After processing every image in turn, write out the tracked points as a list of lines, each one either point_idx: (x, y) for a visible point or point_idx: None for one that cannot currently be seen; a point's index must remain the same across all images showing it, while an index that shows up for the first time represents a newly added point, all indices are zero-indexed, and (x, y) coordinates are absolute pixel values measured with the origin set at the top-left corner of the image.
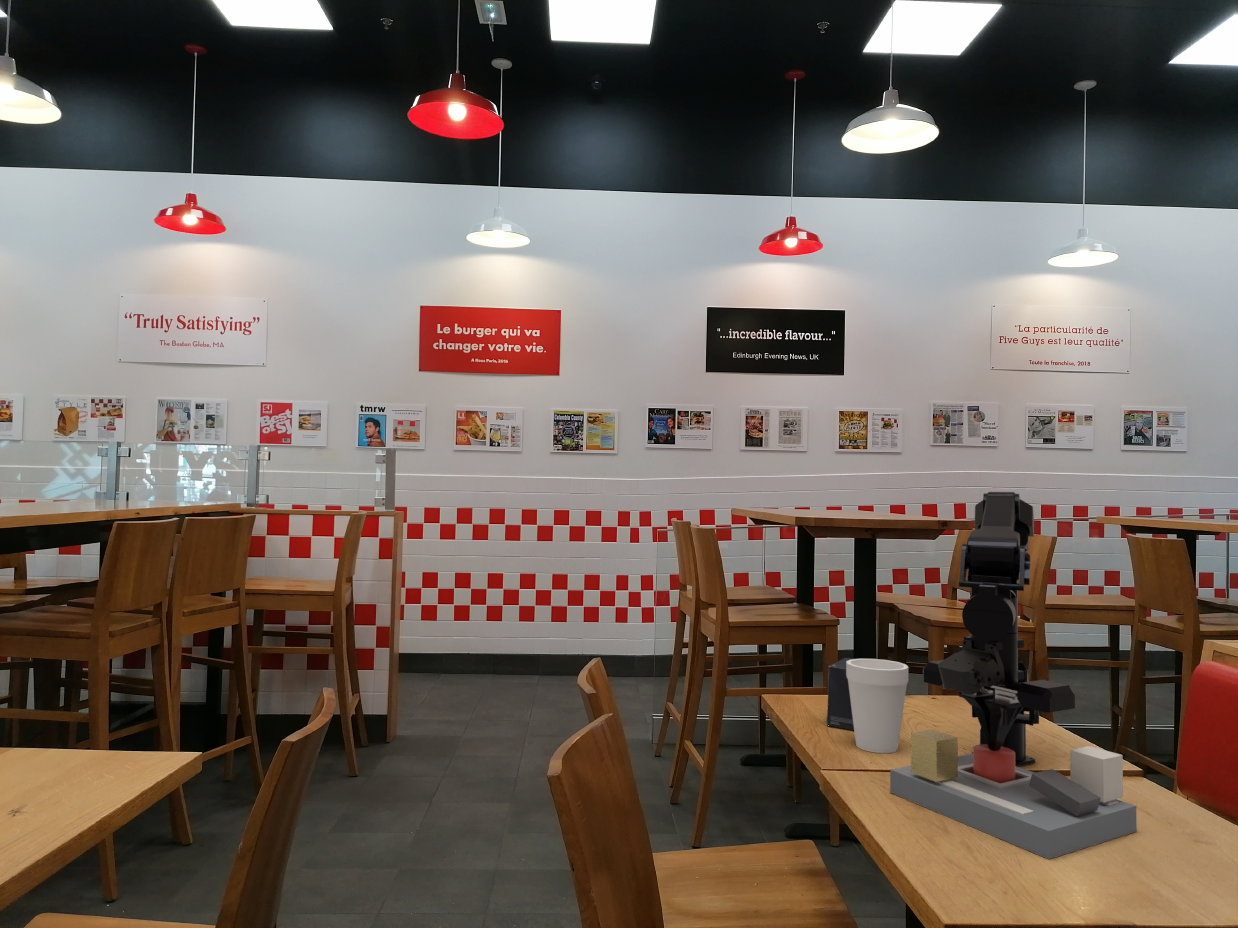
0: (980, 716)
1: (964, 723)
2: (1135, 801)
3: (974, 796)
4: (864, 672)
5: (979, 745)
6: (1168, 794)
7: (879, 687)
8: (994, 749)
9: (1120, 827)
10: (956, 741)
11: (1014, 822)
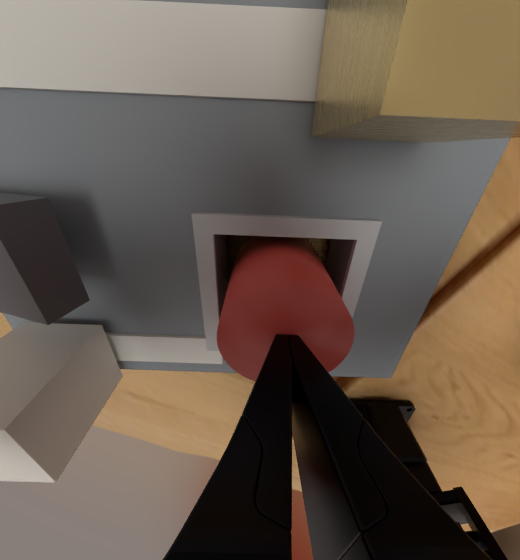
0: (373, 467)
1: (470, 479)
2: (172, 415)
3: (157, 5)
4: None
5: (344, 343)
6: (178, 450)
7: None
8: (275, 336)
9: None
10: (370, 101)
11: None
